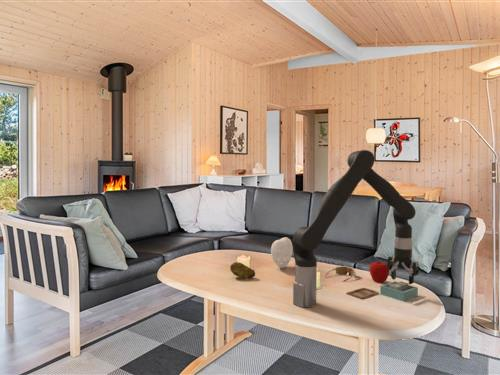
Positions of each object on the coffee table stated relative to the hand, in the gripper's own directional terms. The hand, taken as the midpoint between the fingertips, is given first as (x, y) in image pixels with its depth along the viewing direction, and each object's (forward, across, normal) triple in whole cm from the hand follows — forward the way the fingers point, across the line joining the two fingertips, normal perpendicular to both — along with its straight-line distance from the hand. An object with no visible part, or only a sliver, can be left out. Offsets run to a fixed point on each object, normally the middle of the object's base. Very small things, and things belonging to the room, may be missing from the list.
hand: (402, 281), depth 179 cm
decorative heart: (+7, -68, -14) cm, 70 cm away
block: (+6, 0, 0) cm, 6 cm away
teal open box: (+6, 0, -2) cm, 7 cm away
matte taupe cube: (+6, 0, -5) cm, 8 cm away
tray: (+6, -11, -14) cm, 19 cm away
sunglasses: (+7, -35, -1) cm, 36 cm away
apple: (+7, -18, +8) cm, 21 cm away
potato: (+7, -66, -43) cm, 79 cm away
